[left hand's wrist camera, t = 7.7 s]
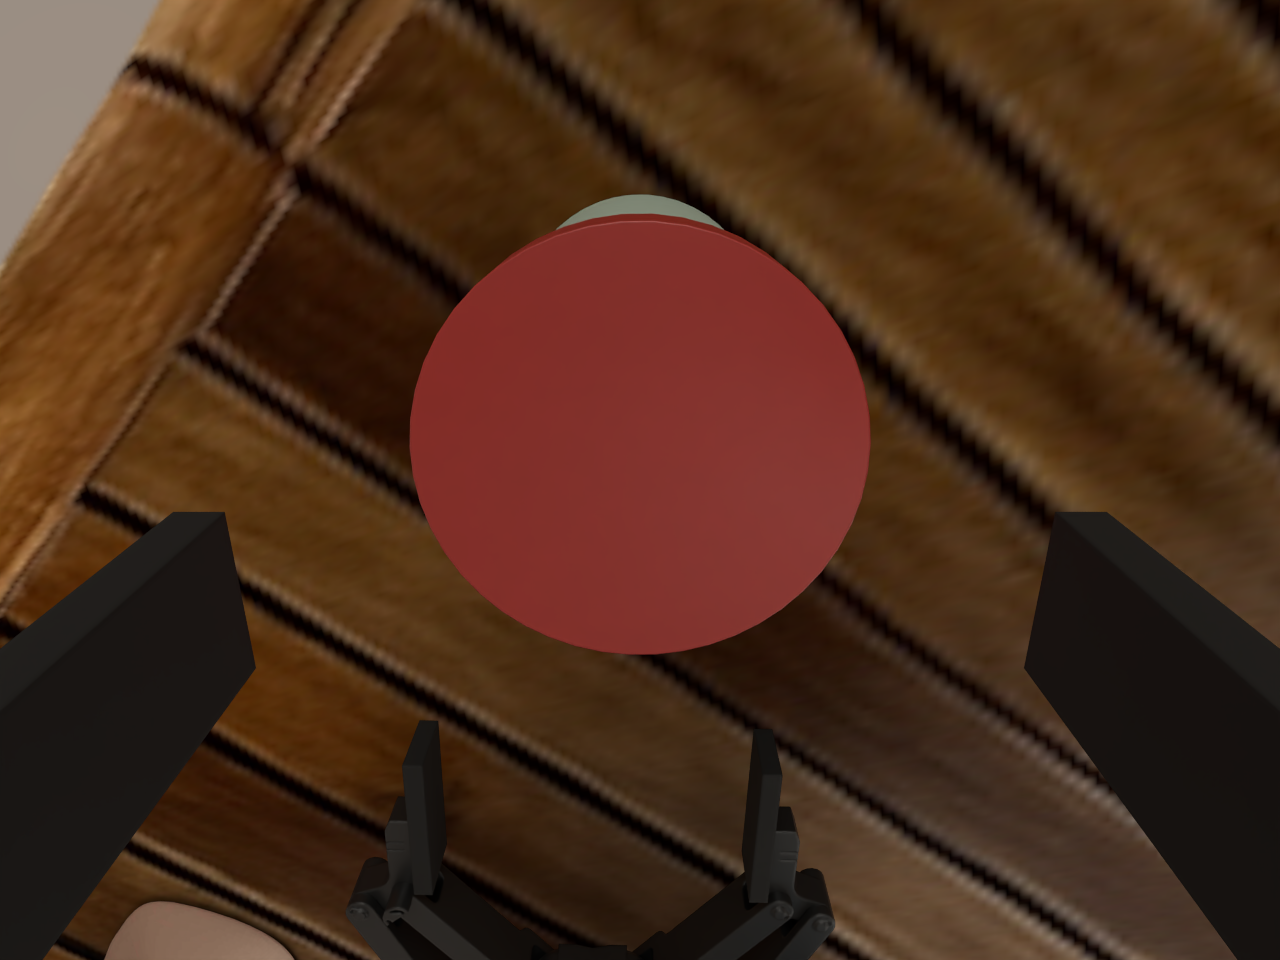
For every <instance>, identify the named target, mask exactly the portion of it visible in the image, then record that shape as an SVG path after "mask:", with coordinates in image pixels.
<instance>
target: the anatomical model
mask: <svg viewBox="0 0 1280 960" xmlns="http://www.w3.org/2000/svg"><path fill="white" fill-rule="evenodd" d="M105 960H294V958H293V957H292V955H291V954H290V953H289V952H288V951H287V950H286V949H285V948H284V947H283V946H282V945H281V944H280V943H279V942H277V941H276V940H275V939H274V938H272V937H270V936H269V935H267V934H265V933H264V932H262V931H260V930H258V929H256V928H254V927H252V926H250V925H247V924H245V923H243V922H240V921H238V920H235V919H233V918H230V917H227V916H224V915H221V914H218V913H215V912H211V911H208V910H204V909H201V908H197V907H194V906H189V905H184V904H180V903H175V902H164V901H157V902H150V903H147V904H144V905H142V906H140V907H139V908H137V909H136V910H135V911H134V912H133V913H132V914H131V915H130V916H129V917H128V918H127V920H126V921H125V922H124V924H123V925H122V927H121V928H120V930H119V931H118V933H117V934H116V935H115V937H114V939H113V940H112V942H111V944H110V946H109V949H108V952H107V954H106V957H105Z"/></svg>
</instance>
